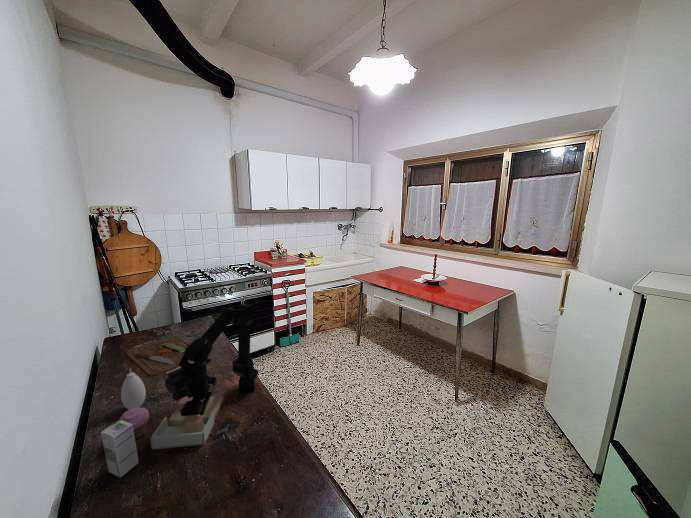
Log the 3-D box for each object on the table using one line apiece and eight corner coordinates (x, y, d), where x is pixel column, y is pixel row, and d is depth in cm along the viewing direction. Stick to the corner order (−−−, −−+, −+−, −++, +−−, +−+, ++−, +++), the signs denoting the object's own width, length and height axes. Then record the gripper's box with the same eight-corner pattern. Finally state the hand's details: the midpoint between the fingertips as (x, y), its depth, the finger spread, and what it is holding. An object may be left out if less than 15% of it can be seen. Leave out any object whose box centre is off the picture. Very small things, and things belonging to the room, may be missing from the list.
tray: (214, 423, 103) (213, 413, 102) (204, 444, 93) (203, 433, 93) (166, 427, 101) (165, 417, 100) (151, 449, 91) (150, 438, 91)
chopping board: (208, 356, 151) (208, 351, 151) (153, 380, 130) (152, 374, 129) (173, 335, 177) (173, 331, 177) (122, 352, 156) (122, 347, 155)
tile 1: (197, 401, 111) (196, 394, 111) (192, 409, 106) (191, 402, 106) (184, 402, 111) (183, 395, 110) (178, 410, 106) (177, 403, 105)
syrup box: (139, 462, 87) (133, 422, 84) (119, 479, 81) (112, 437, 79) (127, 457, 89) (121, 418, 86) (106, 473, 83) (99, 432, 81)
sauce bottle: (145, 398, 116) (140, 360, 113) (148, 408, 111) (143, 368, 108) (122, 407, 111) (116, 367, 108) (124, 418, 105) (118, 376, 102)
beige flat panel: (223, 401, 115) (222, 396, 114) (213, 422, 103) (212, 416, 103) (183, 404, 113) (182, 399, 113) (168, 426, 101) (167, 420, 101)
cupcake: (127, 450, 91) (123, 424, 90) (115, 439, 95) (111, 414, 94) (155, 431, 99) (152, 407, 97) (143, 422, 103) (140, 399, 101)
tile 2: (202, 416, 99) (198, 422, 96) (204, 427, 100) (200, 434, 97) (189, 416, 99) (184, 422, 96) (190, 428, 100) (185, 434, 97)
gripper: (187, 364, 108) (190, 399, 111) (161, 395, 90) (166, 436, 93) (216, 363, 110) (218, 397, 112) (196, 393, 91) (200, 433, 94)
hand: (202, 414), depth 103 cm, fingers closed
